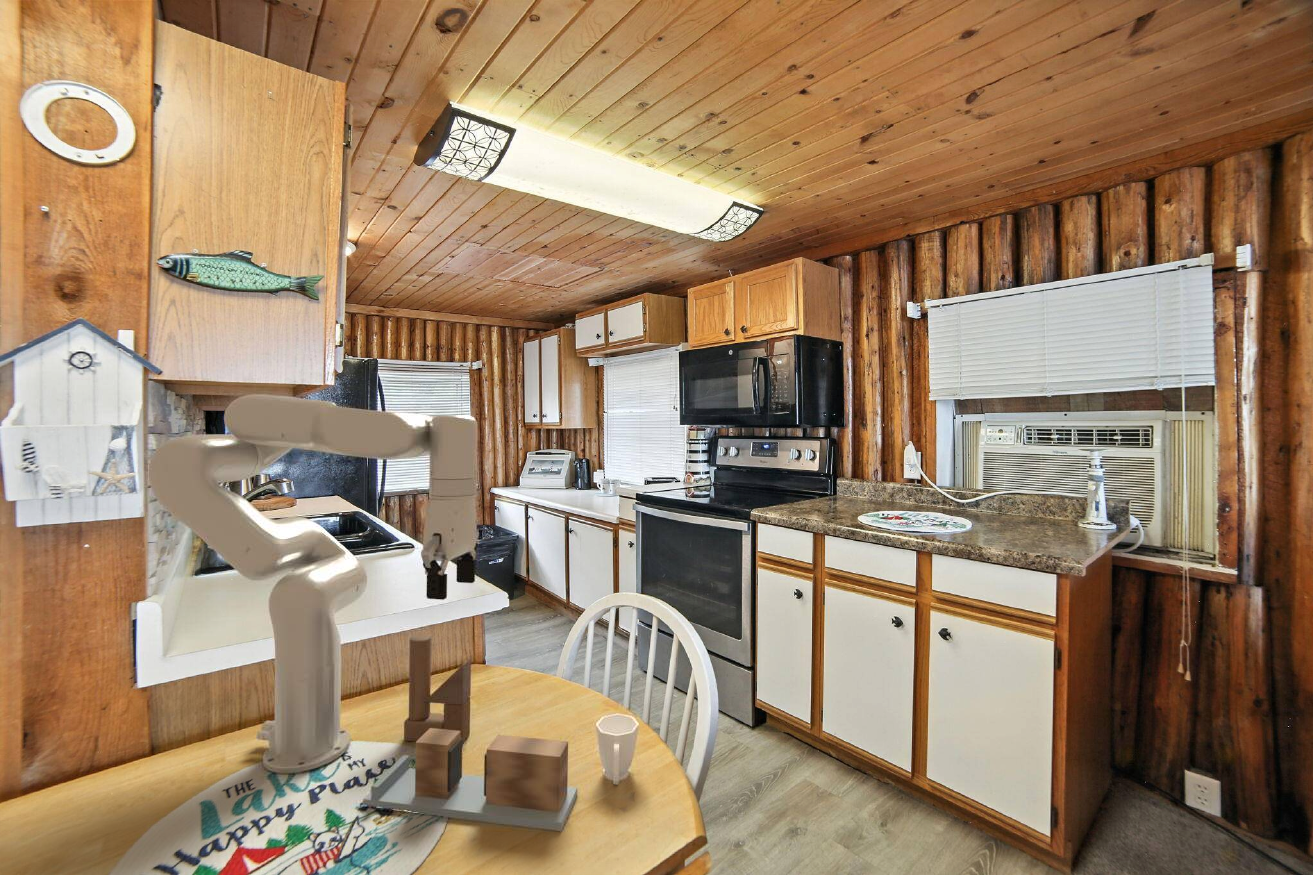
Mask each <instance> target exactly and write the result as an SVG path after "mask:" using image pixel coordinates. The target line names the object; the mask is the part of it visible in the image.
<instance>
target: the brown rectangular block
mask: <svg viewBox="0 0 1313 875" xmlns="http://www.w3.org/2000/svg"><path fill="white" fill-rule="evenodd" d="M414 760H415V764H414V766H415V767H414V769H415V796H422V797H430V798H439V799H448V797H449V796H450V795H451V793H452V792H453V791H454V790H455V788H456V787H457V786H458V784H459V783H460V779H461V778H462V774H463V744H462V738H461V731H456V730H445V729H435V728H430V729H429V730H428V731H427V732H426V733H425V734H423V735H422V736H421V737H420V738H419V739H418V740H417V741H415V759H414Z"/></svg>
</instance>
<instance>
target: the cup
mask: <svg viewBox="0 0 1313 875" xmlns="http://www.w3.org/2000/svg"><path fill="white" fill-rule="evenodd" d="M639 726H640V724H639V722H638V721H637V720H636V718H634V716H631V715H629V714H628V715H627V714H623V713H613V714H609V715H603V716H602V717H601V718H600V719H599V720H598V721H597V722H596V723H595V728H596V729H595V730H596V736H597V742H598V751H599V757H600V762H601V766H602V767H603V771H602V774H603V775H604V777H605V778H606V780H610V781H612V782H613V785H619V782H620V781H623V780H626V779H627V778H629V775H630V774H631V770H630V767H631V766H632V762H633V759H634V756H635V751H636V744H637V737H638V733H639Z"/></svg>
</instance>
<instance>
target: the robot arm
mask: <svg viewBox="0 0 1313 875" xmlns="http://www.w3.org/2000/svg"><path fill="white" fill-rule="evenodd" d="M223 420H224V421H223V422H224V426H225V428H226V429H227V431H228V432H229V433H230V434H229V433H228V434H219V433H218V434H191V435H184V436H179V437H175V438H172V439H169V440H167V441H165V442H164V443H161V445H159V446H158V447H157V448H156V449H155V450H154V452H153V453H152V455H151V457H150V459H149V464H148V471H147V472H148V482H149V485H150V489H151V491H152V493H153V495H154V498H156V500H157V501H158V503H159V504H160V505H161V507H163V509H165V511H167V512H168V513H169V514H170V515H171V516H172V517H174V518H175V519H176V520H178V521H179V522H180V523H182V524H183V525H185V526H186V527H187V528H188V529H189V530H191V531H192V532H194V533H195V534H196V535H197V536H198V537H199V538H200V539H201V540H202V541H203V542H204V543H205V544H206V545H207V546H209V547H210V548H211V549H212V550H213V551H214V552H216V553H217V555H218V556H220V557H221V559H223V560H224V561H225V562H227V563H228V564H229V565H230V566H231V567H232V568H233V569H234V570H235V571H236V572H238V573H239V574H240V575H241V576H243V577H244V578H247V579H248V580H251V581H265V580H268V579H273V578H274V577H275V578H276V577H278V576H281V575H283V574H286V573H287V574H286V575H284V576H283V577H281V578H280V579H279V580H278V581H277V582H276V584H275V585H274V586H273V588H272V590H271V591H270V594H269V598H268V611H269V612H268V613H269V617H270V620H271V625H272V630H273V637H274V668H275V669H274V720H266V721H264V722H262V726H261V728H260V730H259V731H258V732H257V734H256V739H257V740H261V741H268V747H267V749H266V750H265V751H264V753H263V756H262V763H263V764H262V765H263V767H264V768H265V769H266V770H268V771H270V772H272V773H277V774H297V773H296V772H298V773H301V772H302V771H303V772H307V770H308V771H310V770H311V771H312V770H313V769H316V768H320V767H322V766H324V765H325V766H326V765H327V764H329V763H331V762H333V761H335V760H336V759H338V758H339V757H340V756H342V755H343V754H344V753H345V752H346V751H347V750H348V749H349V747H350V744H351V734H350V733H349V731H348V730H347V729H345V728H342V727H341V704H342V703H341V698H342V697H341V694H342V693H341V691H342V688H341V687H342V686H341V684H342V682H341V681H342V680H341V679H342V678H341V677H342V676H341V675H342V643H341V636H340V632H339V629H338V627H337V624H336V621H335V614H336V613H338V612H339V611H342V609H345V608H346V607H348V606H350V605H351V604H353V603H354V602H356V601H358V599H360V598H361V596H362V595H363V594H364V592H366V591H365V590H366V588H367V584H368V576H367V572H366V569H365V568H364V566H363V564H362V562H361V561H360V560H359V559H358V558H357V557H356V556H355V555H353V553H352V552H350V551H349V550H348V549H347V548H346V546H344V545H343V544H342V543H340V541H338V540H337V539H336V538H335V537H334V536H333V535H331V533H329V532H328V531H327V530H326V529H325V528H324V527H323V526H321V525H320V524H318V522H315V521H313V520H311V519H309V518H307V517H303V516H302V517H301V516H288V517H283V518H279V519H278V518H277V519H272V518H270V517H268V516H266V515H264V514H263V513H262V512H261V511H259V510H258V509H256V507H254V505H253V504H252V503H251V502H249V501H248V500H247V499H245V497H243V496H241V495H239V494H237V493H236V492H234V491H231V490H229V489H228V488H225V487H223V486H222V485H221V484H222V483H223V484H224V483H228V482H229V483H230V482H237V481H243V480H247V479H250V478H253V477H254V476H257V475H258V474H260V473H262V472H263V471H264V470H267V469H268V468H269V467H270V466H271V465H273V464H275V462H277V461H278V460H280V459H281V458H282V457H284V456H285V455H286V454H288V453H289V452H290V451H291V450H292V449H297V450H298V449H300V450H307V451H315V452H323V453H329V454H335V455H340V456H341V455H342V456H349V457H356V458H357V457H358V458H366V459H376V460H377V459H378V460H393V461H394V460H400V459H408V458H410V459H411V458H412V459H413V458H419V457H420V458H421V457H426V456H429V480H428V481H429V485H428V486H429V488H428V489H429V490H428V493H429V494H428V500H427V505H426V511H425V517H424V526H423V537H422V538H423V540H422V550H421V552H420V556H421V559H422V562H423V563H422V567H423V568H424V574H425V575H426V598H427V599H428V600H443V601H444V600H446V599H447V597H448V574H447V573H445V572H446V570H447V567H448V564H449V562H450V561H452V560H455V559H456V582H457V583H463V584H473V583H475V581H476V559H477V548H478V540H479V536H480V532H479V531H478V530H477V529H478V528H477V510H476V498H477V497H478V496H477V494H478V493H477V492H478V490H477V489H478V488H477V487H478V485H477V484H478V482H477V481H478V478H477V475H478V432H479V431H478V422H477V420H476V419H475V417H473V416H470V415H464V414H462V415H460V414H439V415H429V414H422V413H417V412H415V413H412V412H404V411H403V412H401V411H384V410H383V411H382V410H373V409H371V410H370V409H362V408H353V407H347V406H345V407H344V406H338V405H337V404H336V403H335V402H333V401H328V400H319V399H309V398H298V397H292V396H286V395H285V396H284V395H274V394H273V395H272V394H264V393H263V394H261V393H257V394H256V393H255V394H246V395H243V396H242V395H241V396H239V397H238V398H236V399H235V400H233V401H232V402H230V403H229V405H228V406H227V407H226V410H225V411H224V415H223ZM438 562H440V564H439V563H438ZM288 572H289V573H288Z"/></svg>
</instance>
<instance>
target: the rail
mask: <svg viewBox="0 0 1313 875" xmlns="http://www.w3.org/2000/svg"><path fill="white" fill-rule="evenodd" d="M370 790H371V791H369V793H368V794H367V795H365V796H364V798H363V799H362V806H363V805H371V806H379V807H382V808H391V809H392V808H393V809H398V810H407V811H411V812H418V813H423V814H427V815H426V816H431V815H438V816H437V817H440V816H445V817H444V818H448V817H450V818H449V819H455V820H456V819H458V820H467V821H473V822H481V823H482V822H483V823H488V824H489V823H490V824H498V825H505V826H512V827H520V828H521V827H523V828H530V829H537V830H538V829H539V830H548V831H553V832H554V831H555V832H563V828H564V826H565V825H566V821H567V819H568V817H569V815H570V813H571V811H572V809H573V806H574V804H575V801H576V799H577V798H578V797H577V796H578V786H572V785H567V796H566V799H565V801H564V803H563V805H562V807H561V809H560V811H559V812H550V811H542V810H534V809H525V808H517V807H508V806H500V805H491V804H486V796H484V775H483V776H482V775H473V774H464V773H462V778H461V779H460V783H459V784H458V786H457V787H456V788H455V790H454V791H453V792H452V793H451V795H450V796H449V797H448V799H439V798H430V797H422V796H415V768H412V767H410V755H406V754H405V755H402V756H401V757H399V759H398V760H397V761H396V762H394V764H392V765H391V767H389V769H388V770H386V771H385V773H384V774H382V775H381V777H380V778H378V779H377V780H376V781H375V782H374V783H373V784H372V785H371V789H370ZM423 814H422V815H423Z"/></svg>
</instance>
